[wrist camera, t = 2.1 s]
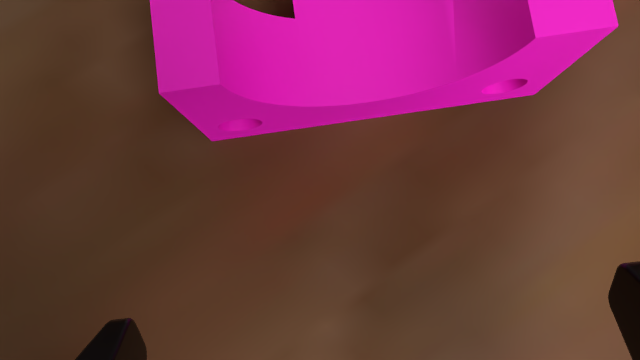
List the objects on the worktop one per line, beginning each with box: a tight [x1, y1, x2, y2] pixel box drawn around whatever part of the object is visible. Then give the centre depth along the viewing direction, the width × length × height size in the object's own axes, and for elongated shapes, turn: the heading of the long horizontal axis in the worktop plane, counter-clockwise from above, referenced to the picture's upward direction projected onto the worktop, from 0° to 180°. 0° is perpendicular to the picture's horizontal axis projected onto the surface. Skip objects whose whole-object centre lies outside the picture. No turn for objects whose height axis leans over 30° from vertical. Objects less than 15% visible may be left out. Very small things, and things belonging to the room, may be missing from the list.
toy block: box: [150, 0, 618, 141], centre depth 21 cm, size 15×6×8 cm, turn 98°
